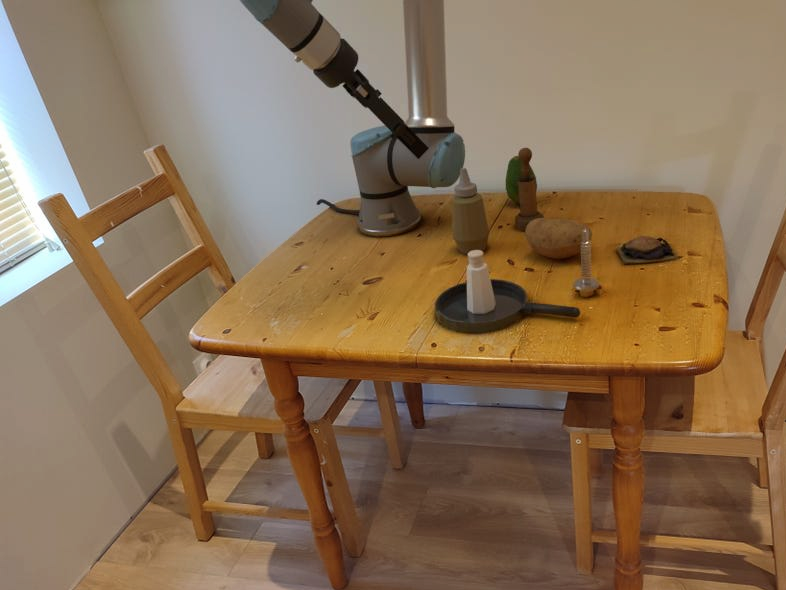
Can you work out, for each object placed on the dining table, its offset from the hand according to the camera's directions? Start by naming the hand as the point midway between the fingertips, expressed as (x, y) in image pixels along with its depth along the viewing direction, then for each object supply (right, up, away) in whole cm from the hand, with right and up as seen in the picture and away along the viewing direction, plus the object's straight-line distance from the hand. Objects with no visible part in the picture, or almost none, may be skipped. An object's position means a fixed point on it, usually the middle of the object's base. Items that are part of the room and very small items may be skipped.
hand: (410, 139), depth 122 cm
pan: (+13, -32, -1) cm, 35 cm away
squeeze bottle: (+11, -17, +22) cm, 30 cm away
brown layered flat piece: (+47, -20, +11) cm, 52 cm away
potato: (+30, -20, +15) cm, 39 cm away
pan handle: (+25, -33, -7) cm, 42 cm away
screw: (+33, -29, 0) cm, 44 cm away
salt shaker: (+13, -32, -2) cm, 34 cm away
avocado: (+24, -2, +44) cm, 50 cm away
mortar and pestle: (+25, -10, +30) cm, 40 cm away
